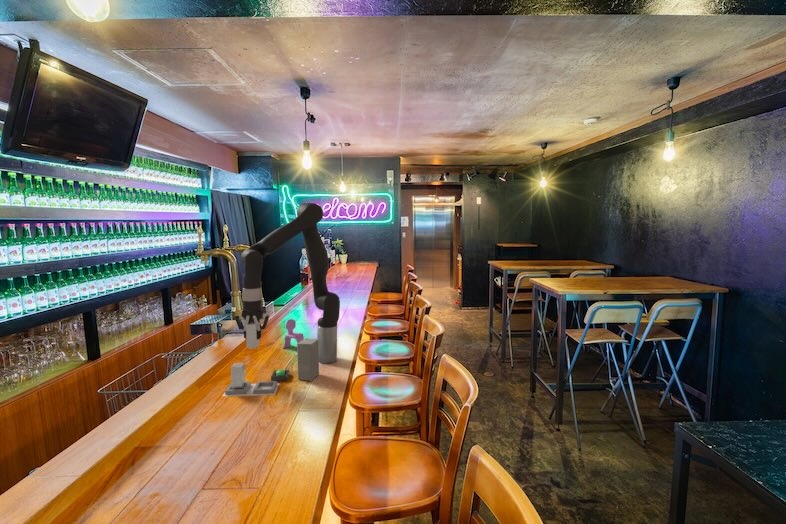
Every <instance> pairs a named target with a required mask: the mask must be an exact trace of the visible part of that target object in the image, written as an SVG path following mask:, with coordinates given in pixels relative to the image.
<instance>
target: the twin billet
mask: <svg viewBox="0 0 786 524" xmlns="http://www.w3.org/2000/svg"><path fill="white" fill-rule="evenodd" d="M230 380H231V381H230V383H231V389H244V388H245V382H246V362H233V364H232V365H231V366H230Z"/></svg>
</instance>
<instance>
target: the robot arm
mask: <svg viewBox="0 0 786 524" xmlns="http://www.w3.org/2000/svg"><path fill="white" fill-rule="evenodd" d="M296 215H297V216H296V217H295V218H294V219H292V220H291V221H289V222H287V223H286V224H284V225H282V226H280V227H278V228H276V229H275V230H273V231H272V232H270V233H268V235H266V236H265V237H263V238H262V239H261V240H260V241H258V242H257V243H255V244H254V243H253V244H252V245H250V247H248V248H245V250H243V252H242V253H241V255H240V262H241V263H242V264H243V265H244V274H243V275H242V291H241V292H242V295H241V296H242V297H241V298H242V299H241V300H242V303H241V305H242V312H241V313H240V314H236V315H235V316H234V319H235V322H236V325H237V326H238V327H237V328H238V329H239V330H242V331H243V338H244V339H245V340H246V324H248V323H255V324H257V339H259V340H260V339H261V338H262V330H265V329H266V328H267V325H268V322H269V320H270V316H271V315H270V314H266V313H264V311H263V292H262V273H263V266H264V265H263V264H264V260H263V258H265V257H266V256H268V255H272V254H273V253H275V252H276V251H278V250H279V249H280V248H282V247H283V246H284V245H285V244H287V243H288V242H289V241H290V240H292V239H294V237H296V236H298V235H300V234H301V233H302V236H303V243H304V247H305V253H306V259H307V263H308V267H309V272H310V277H311V283H312V291H313V302H314V305H315V307H316V308H317V309H319V310H320V311H322V317H320V318H319V319H317V336H316V337H317V338H316V339H318V351H319V364H333V363H337V360H338V359H337V358H338V322H339V318H340V310H341V309H340V307H341V299H340V297H339V295H338V294H337V293H335V292H331V291H329V289H328V284H327V275H328V272H329V268H330V261H329V255H328V251H327V248H326V245H325V243H324V242H323V239H322V238H321V236H320V234H319V230H318V226H317V224H319V222H321V221H322V219H323V217H324V210H323V207H321V205H319V204H317V203H314V202H302V203H301V204H300V205H299V206H298V207H297V211H296ZM262 317H263V318H262ZM261 318H262V319H263V320H264V321H263V324H261V323H262V321H261ZM242 319H244V320H245V321H244V324H243V321H242Z"/></svg>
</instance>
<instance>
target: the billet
mask: <svg viewBox="0 0 786 524" xmlns="http://www.w3.org/2000/svg"><path fill="white" fill-rule="evenodd" d="M245 340H246V342H245V343H246V349H257V348H258V347H259V345H260V339H257V324H255V323H248V324H246V339H245Z"/></svg>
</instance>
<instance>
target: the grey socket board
mask: <svg viewBox="0 0 786 524" xmlns="http://www.w3.org/2000/svg"><path fill="white" fill-rule="evenodd" d="M279 386H280V382H278V381H271V380H269V381H268V380H264V381H263V380H262V381H261V380H260V381H259V380H258V381H257V382H256V383H252V382H251V381H245V388H244V389H231V382H230V383H229V384H228V386H227V388H226V389H225V390H224V391H225V392H224V393H223V394H222V395H221V397H255V396H256V397H257V396H276V393H277V391H278V388H279Z"/></svg>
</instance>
